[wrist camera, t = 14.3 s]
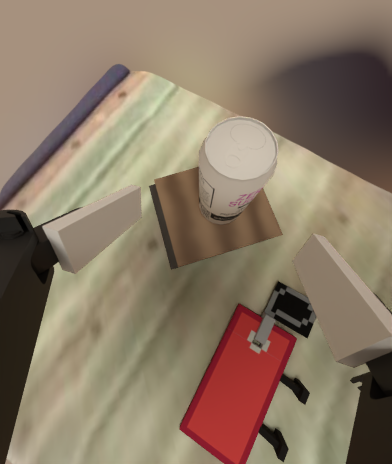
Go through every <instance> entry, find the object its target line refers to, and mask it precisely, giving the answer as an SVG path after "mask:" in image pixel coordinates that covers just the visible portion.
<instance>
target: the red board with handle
mask: <svg viewBox="0 0 392 464" xmlns="http://www.w3.org/2000/svg"><path fill="white" fill-rule="evenodd" d="M315 318H316V315H315V312H314V310H313V308H312V305H311V303H310V301H309V299H308V297H306V296H304V295H302V294H301V293H299V292H297V291H295V290H293V289H291V288H290V287H288V286H286V285H284V284H282V283H281V282H279V281H278V283H277V286H276V288H275V290H274V292H273V294H272V297H271V299H270V301H269V303H268V305H267V307H266V310H265V312H263V313H262V315H261V316H259V315H257V314H256V313H254V312H252V311H251V310H249V309H247V308H246V307H244V306H242V305H241V304H238V306H237V308H236V310H235V312H234V314H233V316H232V319H231V321H230V323H229V325H228V327H227V329H226V331H225V333H224V335H223V337H222V339H221V341H220V343H219V346H218V348H217V350H216V352H215V354H214V356H213V358H212V360H211V362H210V364H209V366H208V368H207V370H206V373H205V375H204V377H203V379H202V381H201V383H200V385H199V387H198V389H197V391H196V393H195V395H194V397H193V400H192V402H191V404H190V406H189V408H188V410H187V412H186V414H185V416H184V418H183V420H182V422H181V424H180V430H181V431H182V432H184V433H185V434H186V435H187V436H189V437H190V438H191V439H193V440H194V441H195V442H197V443H198V444H199V445H200V446H202V447H203V448H204V449H206V450H207V451H208V452H210V453H211V454H212V455H214V456H215V457H216V458H217V459H219V460H220V461H221V462H223V463H224V464H246V461H247V459H248V457H249V454H250V452H251V449H252V447H253V444H254V442H255V440H256V437H257V435H258V432H259V433H260V434H261V435H262V436H263V437H264V438H265V439H266V440H267V441H268V442H269V443H270V444H271V445H273V447H274V450H275V452H276V455H277V458H278V459H280V460H281V461H282V462H284V460H285V457H286V454H287V452H288V447H287V444H286V442H285V440H284V438H283V436H282V433H281V432H280V431H279V430H277V429H276V428H275V431H274V433H272V432H271V431H270V430H269V429H268V428H267V427H266V426H265V425H263V424H262V423H263V420H264V418H265V415H266V413H267V410H268V408H269V406H270V403H271V401H272V398H273V396H274V393H275V391H276V389H277V386H278V384H279V381H281V382H282V383H283V384H285V385H286V386H287V387H289V388H290V389H291V390H292V391H293V392H294V394H295V395H296V397H297V398H298V400H299V401H300V402H302V403H303V404H306V402H307V399H308V396H309V394H310V393H309V391H308V390H307V389H306V388H305V386H304V385H303V384H302V383H301V382H300V381H299V380H298V379H296V378H295V379H294V382H293V381H292V380H290V379H289V378H288V377H286V376H285V375H284V374H283V372H284V369H285V367H286V364H287V362H288V359H289V357H290V355H291V352H292V350H293V347H294V345H295V342H296V340H297V338H296V337H294V336H293V335H291V334H289V333H288V332H286V331H284V330H283V329H281V328H279V327H278V326H276V325H274V323H275V321H276V320H277V321H279V322H280V323H282V324H284V325H286V326H287V327H289V328H291V329H292V330H294V331H296V332H297V333H299V334H301V335H303V336H304V337H306V338H308V336H309V333H310V331H311V328H312V326H313V323H314V321H315ZM253 339H255V340H257V341H259V342H260V343H261V344H260V346H259V345H257V344H255V343H254V342H252V341H253Z"/></svg>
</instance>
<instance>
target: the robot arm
mask: <svg viewBox="0 0 392 464" xmlns="http://www.w3.org/2000/svg"><path fill="white" fill-rule="evenodd" d="M140 218H141V187H138V186H135V185H130V186H128V187H126V188H124V189H121V190H119V191H117V192H115V193H113V194H111V195H108V196H106V197H104V198H102V199H100V200H98V201H95V202H93V203H91V204H89V205H87V206H85V207H81V208H77V209H74V210H72V211H70V212H68V213H66V214H63V215H61V216H59V217H57V218H54V219H52V220H50V221H48V222H46V223H43V224H41V225H39V226H37V227H35V228H33V227H32V225H31V223H30V221H29V219H28V217H27V215H26V213H24V212H23V211H19V210H1V211H0V464H5V461H6V458H7V454H8V450H9V446H10V442H11V438H12V434H13V430H14V426H15V422H16V419H17V415H18V411H19V407H20V403H21V399H22V395H23V391H24V387H25V384H26V380H27V376H28V372H29V368H30V364H31V360H32V356H33V352H34V348H35V345H36V341H37V337H38V333H39V329H40V325H41V321H42V317H43V313H44V309H45V306H46V302H47V298H48V294H49V290H50V286H51V282H52V278H53V274H54V267H53V265H55V264H56V263H57V262H59V263H60V265H61V268H62V270H65V271H68V272H71V273H74V274H76V273H77V272H78V271H79V270H81V269H82V268H83V267H84V266H85V265H86V264H88V263H89V262H90V261H91V260H92V259H93V258H95V257H96V256H97V255H98V254H99V253H100V252H102V251H103V250H104V249H105V248H106V247H108V246H109V245H110V244H111V243H112V242H113V241H115V240H116V239H117V238H118V237H119V236H120V235H122V234H123V233H124V232H125V231H126V230H127V229H129V228H130V227H131V226H132V225H133V224H134V223H136V222H137V221H138V220H139V219H140ZM292 262H293V264H294V267H295V269H296V271H297V273H298V276H299V278H300V280H301V283H302V285H303V287H304V289H305V292H306V294H307V296H308V299H309V301H310V303H311V305H312V308H313V310H314V312H315V315H316V317H317V319H318V321H319V324H320V326H321V328H322V331H323V333H324V335H325V337H326V340H327V342H328V344H329V347H330V349H331V351H332V353H333V356H334V358H335V360H336V362H339V363H342V364H345V365H348V366H351V367H357V366H359V365H362V364H364V363H366V364H367V366H368V368H369V369H370V371H371V372H368V373H365V374H362V375H359V376H356V377H353V378H352V379H351V380H350V381H351V382H352V383H356V382H362V386H360V387H358V389H359V390H360V391H361V392H360V397H359V402H358V407H357V412H356V417H355V421H354V426H353V431H352V436H351V441H350V446H349V451H348V456H347V460H346V464H392V312H391V311H390V310H389V309H388V308H386V307H385V304H384V303H383V302H382V301H381V300H380V299H379V298H378V296H377V295H375V294H374V293H373V292H372V291H371V290H370V289H369V288H368V287H367V285H366V284H365V283H364V282H363V281H362V280H361V278H360V277H359V276H358V275H357V274H356V273H355V272H354V270H353V269H352V268H351V267H350V266H349V265H348V263H347V262H346V261H345V260H344V259H343V258H342V256H341V255H340V254H339V253H338V252H337V251H336V250H335V248H334V247H333V246H332V245H331V244H330V243H329V241H328V240H327V239H326V238H325V237H324V236H321V235H317V234H314V233H313V234H312V235H311V237H310V238H309V239H308V240H307V242H306V243H305V244H304V246H303V247H302V248H301V250H300V251H299V252H298V253H297V255H296V256H295V257H294V259H293V260H292Z"/></svg>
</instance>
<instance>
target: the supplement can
mask: <svg viewBox="0 0 392 464" xmlns="http://www.w3.org/2000/svg"><path fill="white" fill-rule="evenodd" d="M277 155H278V144H277V140H276V138H275V136H274V134H273V132H272V131H271V130H270V129H269V128H268V127H267V126H266V125H265V124H264V123H262V122H260V121H258V120H256V119H253V118H249V117H242V116H238V117H232V118H227V119H225V120H223V121H221V122H219V123H217V124H216V125H215V126H214V127H213V128H212V129H211V130H210V131H209V134H208V136H207V137H206V139H205V140H204V141H203V143H202V146H201V148H200V150H199V208H200V210H201V213H202V215H203V216H204V217H205V218H206V219H207V220H209V221H210V222H212V223H215V224H220V225H222V224H228V223H231V222H232V221H234V220H236V219H237V217H238V216H239V215H240V214H241V213H242V212H243V210H244V209H245V208H246V207H247V206H248V204H249V203H250V202H251V201H252V200H253V199H254V197H255V196H256V195H257V194H258V193H259V192H260V190H261V189H262V188H263V187H264V186H265V184H266V183H267V182H268V181H269V180H270V179H271V177H272V176H273V175H274V171H275V168H276V165H277Z"/></svg>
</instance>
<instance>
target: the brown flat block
mask: <svg viewBox="0 0 392 464" xmlns="http://www.w3.org/2000/svg"><path fill="white" fill-rule="evenodd" d="M154 181H155V184H154V185H151V186H149V187H150V191H151V195H152V199H153V202H154V206H155V210H156V214H157V217H158V221H159V225H160V229H161V233H162V236H163V240H164V244H165V248H166V251H167V255H168V259H169V263H170V267H171V269H174V268H178V267H181V266H184V265H187V264H190V263H194V262H197V261H200V260H203V259H206V258H210V257H213V256H216V255H219V254H222V253H226V252H229V251H232V250H235V249H238V248H242V247H245V246H248V245H251V244H254V243H258V242H261V241H264V240H267V239H271V238H274V237H277V236H280V235H283V234H282V232H281V229H280V227H279V225H278V222H277V220H276V218H275V215H274V213H273V211H272V208H271V206H270V204H269V201H268V199H267V197H266V194H265V192H264V190H263V188H262V189H261V190H260V192H259V193H258V194H257V195H256V196H255V197H254V199H253V200H252V201H251V202H250V203H249V204H248V206H247V207H246V208H245V209H244V210H243V212H242V213H241V214H240V215H239V216H238V217H237V219H236V220H234V221H232V222H231V223H228V224H222V225H220V224H215V223H212V222H210V221H209V220H207V219H206V218H205V217H204V216H203V215H202V213H201V210H200V208H199V167H196V168H193V169H189V170H186V171H183V172H179V173H176V174H172V175H169V176H165V177H162V178H159V179H155V180H154Z"/></svg>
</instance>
